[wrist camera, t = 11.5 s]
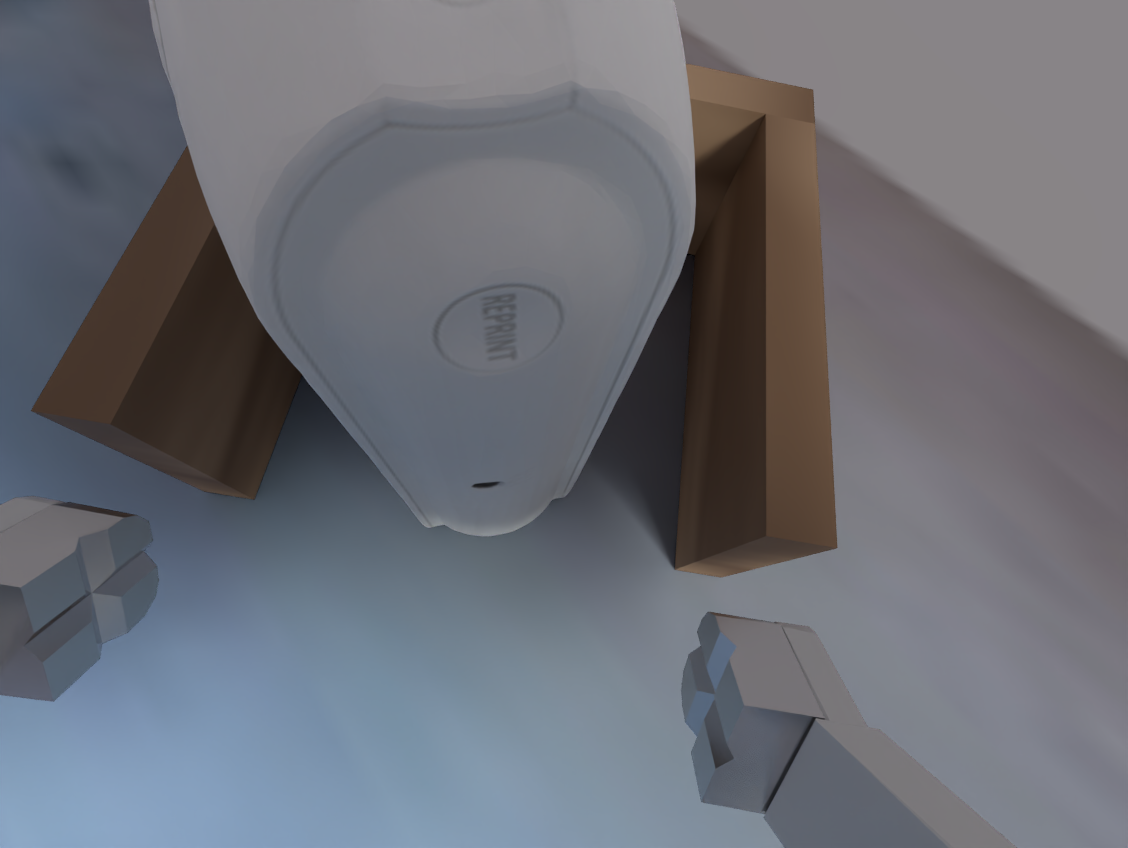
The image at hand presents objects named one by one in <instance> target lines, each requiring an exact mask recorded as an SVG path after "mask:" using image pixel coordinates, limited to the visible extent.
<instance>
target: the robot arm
mask: <svg viewBox="0 0 1128 848" xmlns="http://www.w3.org/2000/svg"><path fill="white" fill-rule="evenodd" d="M152 541H153V539H152V534H151V529H150V525H149V521H147V520H145V519H144V518H142V517H140V516H138V515H134V514H128V513H123V512H118V511H113V510H108V509H102V508H97V507H92V506H87V505H82V504H76V503H71V502H62V501H57V500H52V499H47V498H42V497H36V496H27V497H17V498H13V499H11V500H9V501H7V502H5V503H3V504H1V505H0V695H5V696H13V697H21V698H29V699H37V700H45V701H53V702H54V701H55V700H56V699H57V698H58V697H59V696H60V695H61V694H62V693H64V692H65V691H66V690H67V689H68V688H69V687H70V686H71V685H72V684H73V683H74V682H75V681H76V680H78V679H79V678H80V677H81V676H82V675H83V674H84V673H85V672H86V671H87V670H88V669H89V668H90V667H92V666H93V665H94V664H95V663H96V662H97V661H98V660H99V659H100V655H101V649H102V644H103V643H105V642H107V641H110V640H112V639H114V638H117V637H119V636H121V635H123V634H126V633H128V632H129V631H130V630H131V629H132V628H133V627H134V626H135V625H136V624H137V623H138V622H139V621H140V620H141V619H142V618H143V617H144V616H145V614H146V613H147V611H148V609H149V607H150V606H151V604H152V602H153V600H154V599H155V597H156V593H157V587H158V582H159V578H158V570H157V566H156V564H155V563H154V562H153V561H152V560H151V559H150V558H149V556H148V555H147V554H146V553H145V552H144V551H145V550H146V549H147V547H148V546H149V545H150V544H151V542H152ZM697 633H698V637H699V641H700V645H701V646H700V647H699V648H697V649H696V650H694V651H693V652H691V653H690V654H689V655H688V658H687V661H686V665H685V668H684V671H683V679H682V688H681V694H682V707H683V713H684V719H685V723H686V724H687V725H688V726H689V727H690V729H691V730H692V731H693V732H694V734H695V735H696V736H697V738H696V741H695V744H694V746H693V749H692V751H691V755H692V760H693V765H694V770H695V775H696V780H697V785H698V790H699V794H700V799H701V802H703V803H708V804H714V805H719V806H724V807H730V808H735V809H741V810H746V811H751V812H757V813H762V814H765V815H764V819H765V820H766V822H767V823H768V825H769V826H770V827H771V829H772V830H773V832H774V833H775V835H776V836H777V837H778V839H779V840H780V842H781V843H782V845H783V846H784V848H1017V847H1016V846H1014V845H1013V844H1012V843H1011V842H1010V841H1009V840H1008V839H1006V838H1005V837H1004V836H1003V835H1002V834H1001V833H999V832H998V831H997V830H996V829H995V828H994V827H992V826H991V825H990V824H989V823H988V822H987V821H985V820H984V819H983V818H982V817H981V816H980V815H978V814H977V813H976V812H975V811H974V810H973V809H972V808H970V807H969V806H968V805H967V804H966V803H965V802H963V801H962V800H961V799H960V798H959V797H958V796H956V795H955V794H954V793H953V792H952V791H951V790H949V789H948V788H947V787H946V786H945V785H944V784H942V783H941V782H940V781H939V780H938V779H937V778H936V777H934V776H933V775H932V774H931V773H930V772H929V771H927V770H926V769H925V768H924V767H923V766H922V765H920V764H919V763H918V762H917V761H916V760H915V759H913V758H912V757H911V756H910V755H909V754H908V753H906V752H905V751H904V750H903V749H902V748H901V747H899V746H898V745H897V744H896V743H895V742H894V741H893V740H891V739H890V738H889V737H888V736H887V735H886V734H884V733H883V732H882V731H881V730H880V729H875V728H869V727H868V726H867V724H866V723H865V721H864V719H863V717H862V715H861V714H860V712H859V710H858V708H857V706H856V704H855V703H854V701H853V699H852V697H851V695H850V694H849V692H848V690H847V688H846V686H845V684H844V683H843V681H842V679H841V677H840V675H839V673H838V672H837V670H836V668H835V666H834V664H833V663H832V661H831V659H830V657H829V655H828V653H827V652H826V650H825V648H824V646H823V644H822V643H821V641H820V639H819V637H818V635H817V634H816V632H815V631H813V630H812V629H811V628H810V627H809V626H802V625H795V624H788V623H781V622H769V621H763V620H757V619H751V618H745V617H738V616H732V615H726V614H720V613H714V612H707V613H706V614H705V616H704V617H703V618H702V620H701V623H700V625H699V628H698V631H697Z"/></svg>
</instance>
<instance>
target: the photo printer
mask: <svg viewBox="0 0 1128 848" xmlns="http://www.w3.org/2000/svg"><path fill="white" fill-rule="evenodd" d="M149 6H150V13H151V20H152V27H153V31H154V35H155V39H156V43H157V46H158V50H159V54H160V58H161V61H162V65H163V68H164V71H165V73H166V76H167V78H168V81H169V83H170V86H171V88H172V91H173V93H174V96H175V101H176V106H177V111H178V117H179V120H180V123H181V126H182V129H183V132H184V135H185V138H186V142H187V145H188V148H189V152H190V155H191V158H192V162H193V165H194V168H195V172H196V175H197V178H198V181H199V183H200V186H201V189H202V192H203V194H204V197H205V200H206V203H207V205H208V208H209V211H210V214H211V216H212V218H213V221H214V223H215V225H216V228H217V230H218V232H219V235H220V237H221V239H222V242H223V244H224V246H225V249H226V251H227V253H228V256H229V258H230V260H231V263H232V265H233V267H234V270H235V272H236V275H237V277H238V279H239V281H240V283H241V285H242V287H243V289H244V291H245V293H246V295H247V297H248V299H249V301H250V303H251V305H252V307H253V309H254V311H255V313H256V315H257V317H258V319H259V320H260V322H261V323H262V325H263V326H264V328H265V329H266V331H267V332H268V333H269V335H270V336H271V337H272V339H273V340H274V341H275V343H276V344H277V345H278V347H279V348H280V349H281V350H282V352H283V353H284V354H285V355H286V357H287V358H288V359H289V360H290V361H291V363H292V364H293V365H294V366H295V367H296V368H297V369H298V370H299V371H300V373H301V374H302V375H303V376H304V378H305V379H306V381H307V382H308V383H309V385H310V386H311V387H312V388H313V389H314V390H315V392H316V393H317V394H318V395H319V396H320V397H321V399H322V400H323V401H324V403H325V404H326V405H327V406H328V408H329V409H330V410H331V411H332V413H333V414H334V415H335V416H336V418H337V419H338V420H339V422H340V423H341V424H342V425H343V426H344V428H345V429H346V430H347V431H348V432H349V434H350V435H351V436H352V437H353V439H354V440H355V441H356V442H357V443H358V444H359V446H360V447H361V448H362V449H363V450H364V452H365V453H366V454H367V455H368V456H369V458H370V459H371V460H372V462H373V463H374V464H375V465H376V467H377V468H378V469H379V471H380V472H381V473H382V474H383V476H384V477H385V478H386V479H387V481H388V482H389V483H390V484H391V486H392V487H393V488H394V489H395V491H396V492H397V493H398V494H399V495H400V497H401V498H402V499H403V500H404V502H405V503H406V504H407V505H408V507H409V508H410V509H411V511H412V512H413V513H414V515H415V516H416V517H417V519H418V520H419V521H420V522H421V524H423V525H424V526H425V527H428V528H431V527H435V526H439V525H446V526H447V527H449V528H451V529H452V530H455V531H458V532H461V533H464V534H468V535H473V536H495V535H500V534H505V533H509V532H512V531H515V530H517V529H519V528H521V527H523V526H525V525H527V524H529V523H530V522H531V521H533V520H534V519H535V518H537V517H538V516H539V515H540V514H541V513H542V512H543V511H544V510H545V509H546V507H547V506H548V505H549V503H550V502H551V501H552V500H553V499H555V498H563V497H565V496H566V495H567V494H568V493H569V492H570V491H571V489H572V488H573V486H574V484H575V482H576V480H577V479H578V477H579V475H580V473H581V471H582V469H583V467H584V465H585V463H586V461H587V459H588V457H589V455H590V453H591V451H592V449H593V448H594V446H595V444H596V441H597V439H598V438H599V436H600V434H601V432H602V430H603V428H604V426H605V424H606V422H607V420H608V418H609V415H610V414H611V412H612V410H613V407H614V405H615V403H616V402H617V400H618V398H619V396H620V394H621V392H622V391H623V389H624V387H625V385H626V383H627V381H628V379H629V377H630V375H631V373H632V371H633V369H634V367H635V365H636V363H637V360H638V358H639V356H640V354H641V352H642V350H643V348H644V346H645V344H646V342H647V339H648V337H649V335H650V333H651V331H652V329H653V327H654V325H655V322H656V320H657V318H658V316H659V315H660V313H661V311H662V309H663V307H664V305H665V303H666V302H667V299H668V297H669V295H670V293H671V291H672V289H673V287H674V285H675V283H676V281H677V279H678V277H679V275H680V273H681V270H682V267H683V264H684V261H685V258H686V255H687V252H688V249H689V245H690V242H691V238H692V235H693V232H694V225H695V208H696V190H695V153H694V140H693V126H692V112H691V103H690V95H689V86H688V78H687V70H686V63H685V55H684V48H683V42H682V37H681V31H680V26H679V21H678V16H677V11H676V6H675V2H674V0H149Z"/></svg>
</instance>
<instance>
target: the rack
mask: <svg viewBox="0 0 1128 848" xmlns="http://www.w3.org/2000/svg"><path fill="white" fill-rule="evenodd" d="M686 70H687V78H688V86H689V95H690V103H691V112H692V126H693V140H694V153H695V190H696V208H695V225H694V232H693V235H692V238H691V242H690V245H689V249H688V252H687V254H691V255H695V262H694V278H693V293H692V309H691V325H690V340H689V356H688V371H687V387H686V403H685V418H684V434H683V450H682V465H681V481H680V497H679V512H678V528H677V544H676V559H675V570H680V571H686V572H692V573H698V574H704V575H710V576H716V577H725V576H729V575H733V574H737V573H741V572H745V571H749V570H753V569H756V568H760V567H764V566H768V565H772V564H776V563H780V562H784V561H788V560H792V559H796V558H800V557H804V556H808V555H812V554H816V553H820V552H824V551H828V550H832V549H836V548H837V533H836V514H835V495H834V476H833V457H832V438H831V419H830V400H829V381H828V362H827V343H826V324H825V305H824V286H823V267H822V249H821V230H820V211H819V192H818V173H817V154H816V135H815V116H814V97H813V90H812V89H807V88H802V87H797V86H792V85H787V84H783V83H777V82H773V81H768V80H763V79H759V78H754V77H749V76H744V75H739V74H734V73H729V72H725V71H720V70H715V69H710V68H705V67H700V66H695V65H691V64H686ZM301 376H302V374H301V373H300V371H299V370H298V369H297V368H296V367H295V366H294V365H293V364H292V363H291V361H290V360H289V359H288V358H287V357H286V355H285V354H284V353H283V352H282V350H281V349H280V348H279V347H278V345H277V344H276V343H275V341H274V340H273V339H272V337H271V336H270V335H269V333H268V332H267V331H266V329H265V328H264V326H263V325H262V323H261V322H260V320H259V319H258V317H257V315H256V313H255V311H254V309H253V307H252V305H251V303H250V301H249V299H248V297H247V295H246V293H245V291H244V289H243V287H242V285H241V283H240V281H239V279H238V277H237V275H236V272H235V270H234V267H233V265H232V263H231V260H230V258H229V256H228V253H227V251H226V249H225V246H224V244H223V242H222V239H221V237H220V235H219V232H218V230H217V228H216V225H215V223H214V221H213V218H212V216H211V214H210V211H209V208H208V205H207V203H206V200H205V197H204V194H203V192H202V189H201V186H200V183H199V181H198V178H197V175H196V172H195V168H194V165H193V162H192V158H191V155H190V152H189V148H188V145H187V147H186V149H185V150H184V152H183V154H182V155H181V157H180V159H179V160H178V162H177V164H176V166H175V167H174V169H173V171H172V172H171V174H170V176H169V177H168V179H167V181H166V182H165V184H164V186H163V188H162V189H161V191H160V193H159V194H158V196H157V198H156V199H155V201H154V203H153V204H152V206H151V208H150V210H149V211H148V213H147V215H146V216H145V218H144V220H143V221H142V223H141V225H140V227H139V228H138V230H137V232H136V233H135V235H134V237H133V238H132V240H131V242H130V243H129V245H128V247H127V249H126V250H125V252H124V254H123V255H122V257H121V259H120V260H119V262H118V264H117V266H116V267H115V269H114V271H113V272H112V274H111V276H110V277H109V279H108V281H107V282H106V284H105V286H104V288H103V289H102V291H101V293H100V294H99V296H98V298H97V299H96V301H95V303H94V305H93V306H92V308H91V310H90V311H89V313H88V315H87V316H86V318H85V320H84V321H83V323H82V325H81V327H80V328H79V330H78V332H77V333H76V335H75V337H74V338H73V340H72V342H71V344H70V345H69V347H68V349H67V350H66V352H65V354H64V355H63V357H62V359H61V360H60V362H59V364H58V366H57V367H56V369H55V371H54V372H53V374H52V376H51V377H50V379H49V381H48V383H47V384H46V386H45V388H44V389H43V391H42V393H41V394H40V396H39V398H38V399H37V401H36V403H35V405H34V406H33V408H32V410H31V411H32V412H34V413H37V414H39V415H41V416H43V417H45V418H47V419H49V420H52V421H54V422H56V423H58V424H60V425H62V426H65V427H67V428H69V429H71V430H73V431H75V432H78V433H80V434H82V435H84V436H86V437H88V438H90V439H93V440H95V441H97V442H99V443H101V444H103V445H106V446H108V447H110V448H112V449H114V450H116V451H118V452H121V453H123V454H125V455H127V456H129V457H131V458H134V459H136V460H138V461H140V462H142V463H144V464H146V465H149V466H151V467H153V468H155V469H157V470H159V471H162V472H164V473H166V474H168V475H170V476H172V477H174V478H177V479H179V480H181V481H183V482H185V483H187V484H190V485H192V486H194V487H196V488H198V489H200V490H202V491H205V492H211V493H217V494H223V495H229V496H235V497H241V498H247V499H253V500H254V499H255V496H256V494H257V491H258V488H259V486H260V483H261V481H262V478H263V475H264V473H265V470H266V468H267V465H268V462H269V460H270V457H271V454H272V452H273V449H274V447H275V444H276V441H277V439H278V436H279V434H280V431H281V428H282V426H283V423H284V421H285V418H286V415H287V413H288V410H289V407H290V405H291V402H292V400H293V397H294V394H295V392H296V389H297V387H298V384H299V381H300V379H301Z"/></svg>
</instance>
